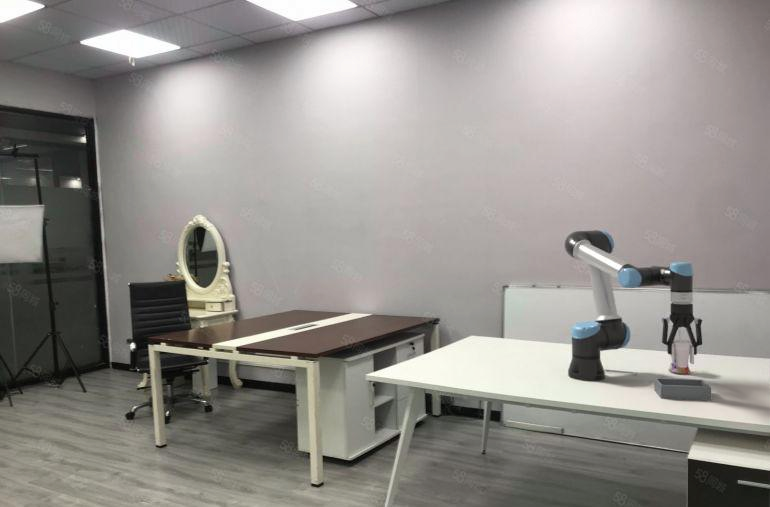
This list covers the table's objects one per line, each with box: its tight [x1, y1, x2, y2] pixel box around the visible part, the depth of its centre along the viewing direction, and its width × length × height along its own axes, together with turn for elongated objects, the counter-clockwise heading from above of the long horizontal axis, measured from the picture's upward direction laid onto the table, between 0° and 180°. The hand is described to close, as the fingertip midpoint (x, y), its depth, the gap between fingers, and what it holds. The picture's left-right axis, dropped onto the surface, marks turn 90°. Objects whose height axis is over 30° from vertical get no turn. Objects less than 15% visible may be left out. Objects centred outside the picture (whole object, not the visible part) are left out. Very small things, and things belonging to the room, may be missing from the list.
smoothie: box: [672, 329, 692, 368], centre depth 212 cm, size 6×6×14 cm
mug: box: [668, 351, 691, 375], centre depth 246 cm, size 12×9×11 cm
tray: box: [653, 377, 712, 401], centre depth 213 cm, size 17×10×5 cm, turn 77°
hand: (682, 362), depth 213 cm, fingers closed on smoothie, 6 cm apart
